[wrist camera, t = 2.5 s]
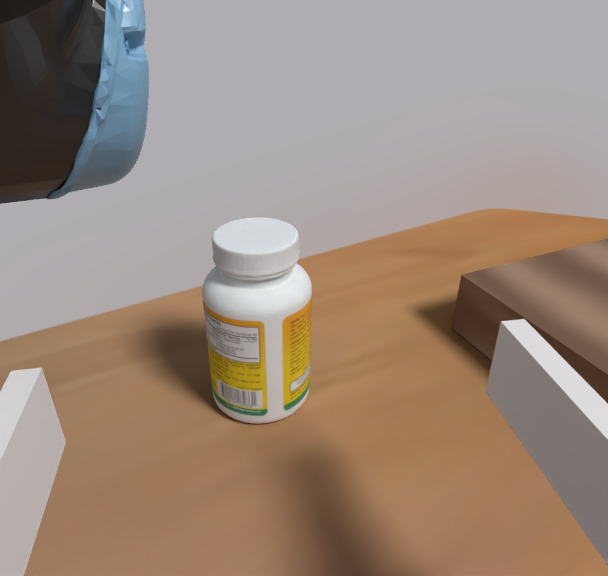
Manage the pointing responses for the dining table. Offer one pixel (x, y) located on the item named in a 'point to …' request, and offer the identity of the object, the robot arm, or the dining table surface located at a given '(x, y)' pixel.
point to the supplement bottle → (258, 320)
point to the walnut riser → (545, 306)
